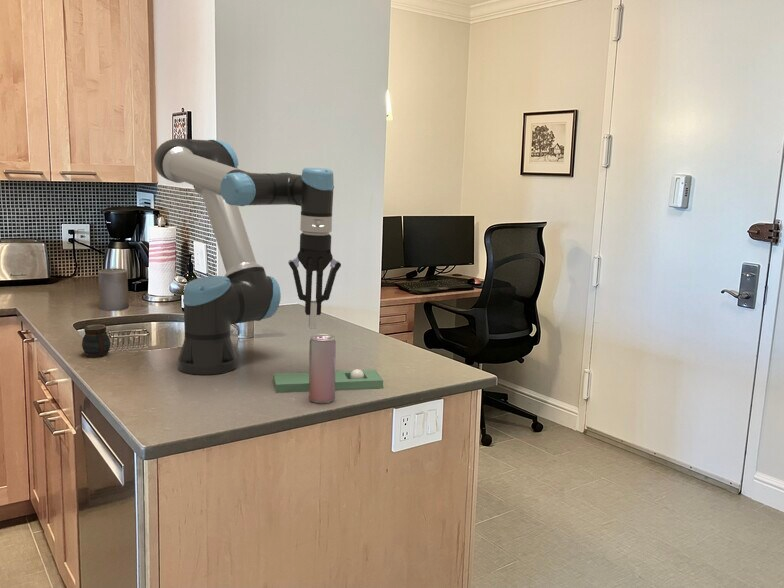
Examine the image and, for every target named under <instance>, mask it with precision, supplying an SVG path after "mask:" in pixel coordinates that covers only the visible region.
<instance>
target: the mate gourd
mask: <svg viewBox="0 0 784 588" xmlns="http://www.w3.org/2000/svg"><path fill="white" fill-rule="evenodd" d="M79 323H80V324H81V326H83V329H84V330H83V331H84V336H83V337H82V340H81V341H82V342H81V347H82V351H83V353H84V354H85V355H87V356H88V357H91V358H100V357H104V356H106V355H107V354H108V353H109V352H110V347H111V339H110V337H109V336H108V334H107V326H106V325H105V324H90V325H86V324H84V323H83V322H82V321H79Z"/></svg>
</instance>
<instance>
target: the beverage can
mask: <svg viewBox="0 0 784 588" xmlns="http://www.w3.org/2000/svg"><path fill="white" fill-rule="evenodd" d="M336 347H337V340H336V337H335V336H334V335H332V334H328V333H319V334H318V333H317V334H313V335H311V336H310V340H309V348H308V349H309V351H308V352H309V353H308V355H309V358H308V359H309V366H308V372H309V391H308V398H309V400H310V401H311V402H312V403H315V404H319V405H320V404H330V403H332V402H333V401H334V399H335V398H336V390H335V371H336V356H337V355H336V354H337V353H336V350H337V348H336Z"/></svg>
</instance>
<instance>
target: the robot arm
mask: <svg viewBox="0 0 784 588" xmlns="http://www.w3.org/2000/svg"><path fill="white" fill-rule="evenodd" d="M153 157H154V158H153V164H154V167H155V169H156V172H157V173H158V174H159V175H160V176H161V177H162V178H164V179H165V180H167V181H170V182H172V183H177V184H181V183H185V184H189V185H192V187H193V189H194V192H195V193H197V194H198V195H201V196H202V199H203V203H204V206H205V208H206V212H207V214H208V215H207V216H208V218H209V221H210V225H211V229H212V231H213V235H214V238H215V242H216V243H217V247H218V250H219V254H220V257H221V260H222V264H223V266H224V269H225V274H224V276H223V275H214V276H204V277H199V278H195V279H193V280H190V281H189V282H187V283H186V284H185V286H184V288H183V297H182V298H183V299H182V301H183V315H184V316H183V323H184V324H183V325H184V329H183V330H184V340H183V343H182V347H181V350H180V353H179V355H178V360H177V363H178V364H177V366H178V370H179V371H181V372H183V373H187V374H190V375H191V374H192V375H200V376H201V375H208V376H209V375H218V374H225V373H227V372H230V371H234V370H235V369H237V367H238V356H237V352H236V350H235V347H234V344H233V342H232V341H233V340H232V339H231V338H232V337H231V325H237V324H242V323H243V324H244V323H248V322H259V321H262V320H265V319H269V318H272V317H273V316H274V315H276V313H277V311H278V309H279V307H280V306H279V305H280V302H281V298H282V296H281V288H280V285H279V283H278V281H277V279H275V277H273V276H271V275H270V276H269V275H267V274H266V271H265V267H264V266H262V265H260V264H258V263H257V261H256V258H255V254H254V252H253V249H252V245H251V241H250V240H249V236H248V233H247V230H246V227H245V223H244V220H243V218H242V214H241V211H240V208H239V207H245V206H262V205H263V206H268V205H269V206H271V205H272V206H278V205H283V206H284V205H289V206H290V205H292V206H300V228H299V230H300V231H301V233H300V234H299V251H298V253H297V256H296V257H295V258H293V259H290V260H288V265H289V266H290V268H291V270H292V275H293V279H294V283H295V288H296V291H297V297H298V300H300V301H302V302H303V301H304V303H305V305H304V312H305V314H306V316H309V317H308V327H309V329H310V330H316V329H317V316H321V314H322V302H325V301H328V300H329V299H330V297H331V292H332V290H333V286H334V282H335V278H336V276H337V272H338V271H339V269H340V268H341V266H342V264H341V262H340V261H339V260H336V259H335V258H334V257H333V256H334V255H333V254H332V234H330V233H331V232H332V227H333V225H332V224H333V223H332V221H333V205H334V204H333V202H334V188H335V185H334V183H335V182H334V172H333V170H331V169H330V168H319V167H304V168H303V169H302V173H301V174H297V173H291V172H277V173H276V172H275V173H266V172H265V173H264V172H263V173H261V172H260V173H259V172H258V173H255V172H249V171H245V170H241V169H239V168H238V166H239V159H238V156H237V153H236V151H235V150H234V149H233V147H232V146H231V145H230V144H228V143H227V142H225V141H220V140H216V139H206V140H205V139H193V138H190V139H189V138H172V139H169V140H166V141H164V142H163V143H161V144H160V145H159V146H158V147H157V149H156V150H155V152H154V156H153ZM299 262H300V264H301V265H302V267H303V269H305V294H304V291H303V286H302V282H301V276H300V274H299V273H300V272H299V270H298V268H299V266H300V265H299ZM329 264H330V271H329V274H328V277H327V280H326V285H325V288H324V291H323V276H324V270H325V269H326V268H327V267H328V266H329ZM313 272H316V278H315V279H316V280H315V281H316V283H315V300H312V288H313V287H312V285H313Z"/></svg>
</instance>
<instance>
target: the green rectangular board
mask: <svg viewBox="0 0 784 588" xmlns="http://www.w3.org/2000/svg"><path fill="white" fill-rule="evenodd" d="M360 370H361V369H360ZM352 371H353V370H335V391H344V390H345V391H347V390H365V389H366V390H368V389H371V390H372V389H383V388H384V379H383V378H382V377H381V375H380V373H378V371H377V370H376V369H362V370H361V371H362V372H363V373H364V379H351V378H350V374H351V372H352ZM272 380H273V385H274V391H275V393H276V394H277V393H280V394H281V393H301V392H303V393H304V392H309V371H306V372H305V371H304V372H280V373H279V372H275V373H273V379H272Z"/></svg>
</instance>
